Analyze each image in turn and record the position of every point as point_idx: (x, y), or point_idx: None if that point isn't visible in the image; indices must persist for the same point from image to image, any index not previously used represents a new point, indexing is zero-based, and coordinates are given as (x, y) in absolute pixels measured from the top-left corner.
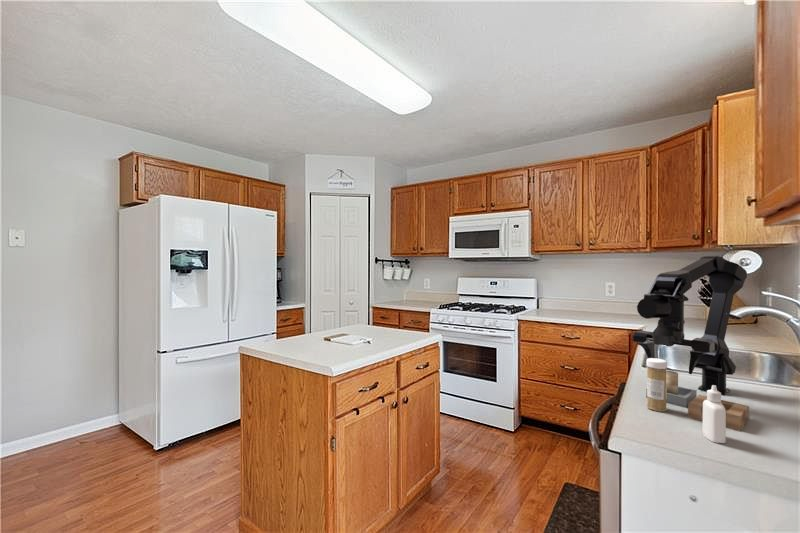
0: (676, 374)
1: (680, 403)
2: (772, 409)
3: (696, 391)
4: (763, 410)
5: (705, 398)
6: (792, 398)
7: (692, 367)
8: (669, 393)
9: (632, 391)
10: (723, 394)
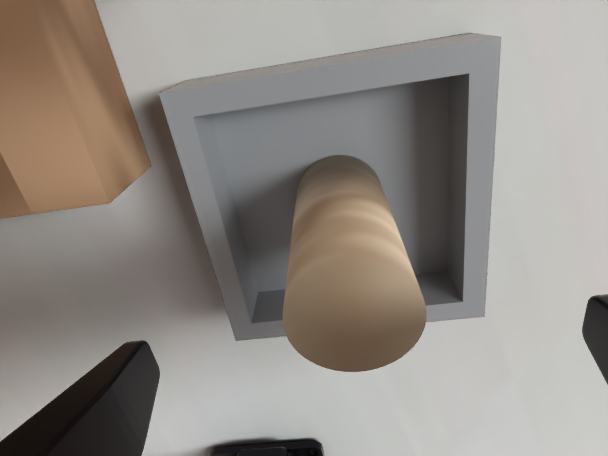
0: (285, 299)
1: (215, 76)
2: (19, 421)
3: (237, 334)
4: (18, 385)
5: (25, 147)
6: None
7: (38, 416)
8: (300, 96)
9: (604, 92)
10: (214, 448)
